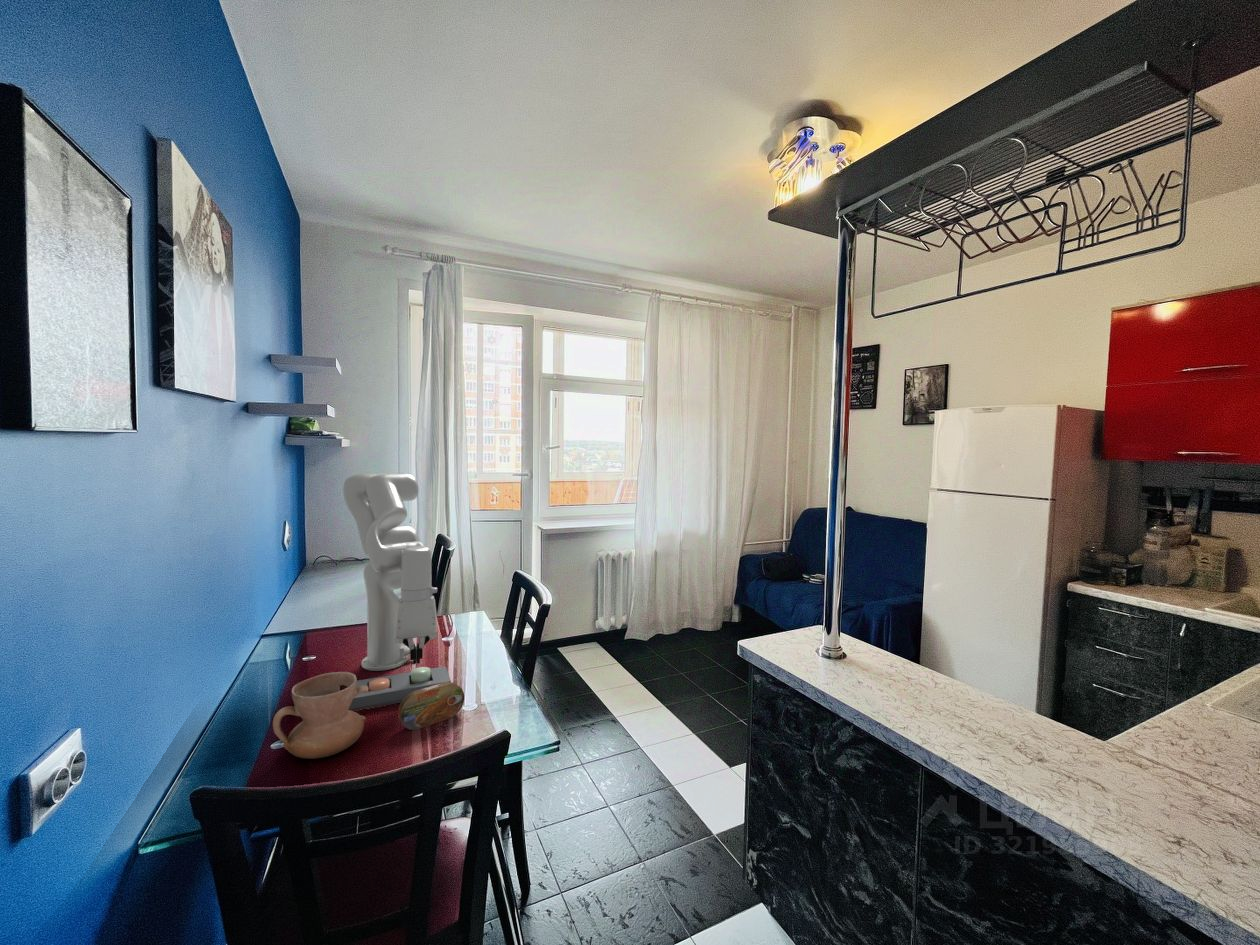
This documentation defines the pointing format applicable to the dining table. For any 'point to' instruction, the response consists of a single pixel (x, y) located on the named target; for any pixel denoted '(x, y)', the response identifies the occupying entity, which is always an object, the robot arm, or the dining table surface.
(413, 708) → the tin
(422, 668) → the sage button
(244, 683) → the dining table surface
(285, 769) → the dining table surface
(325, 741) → the ceramic jug
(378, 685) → the terracotta button
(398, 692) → the button panel
